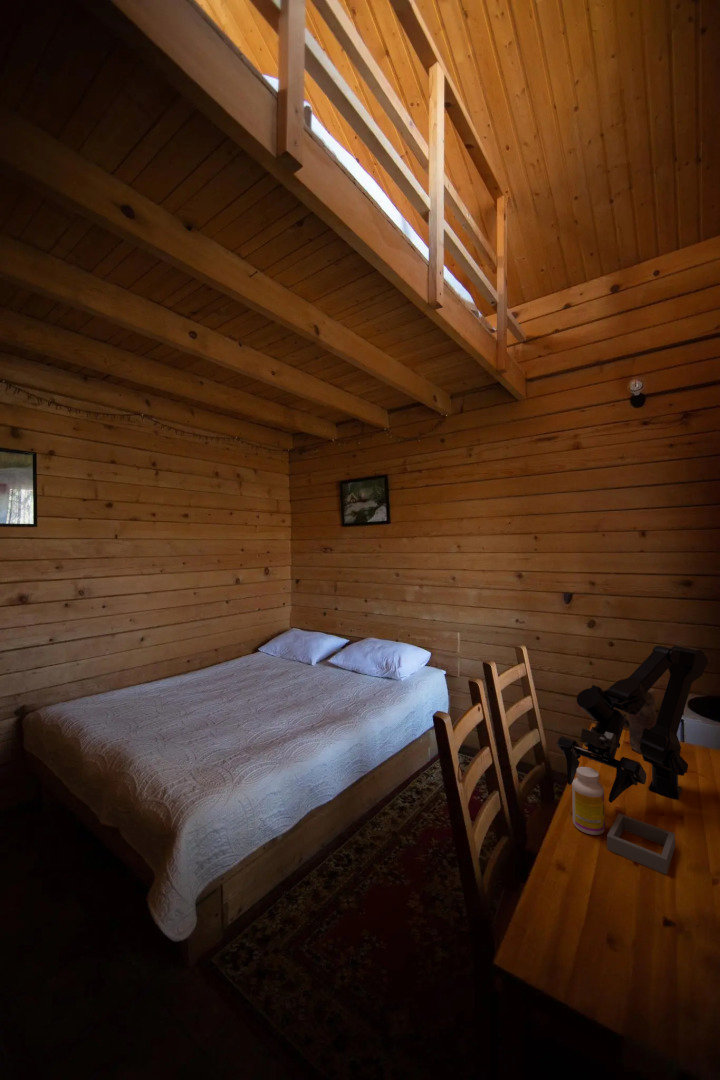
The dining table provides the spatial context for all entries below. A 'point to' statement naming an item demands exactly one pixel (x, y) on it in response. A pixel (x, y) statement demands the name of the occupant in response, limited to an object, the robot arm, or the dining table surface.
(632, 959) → the dining table surface
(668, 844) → the holder
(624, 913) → the dining table surface
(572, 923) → the dining table surface
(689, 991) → the dining table surface
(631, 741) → the candle
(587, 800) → the supplement bottle
